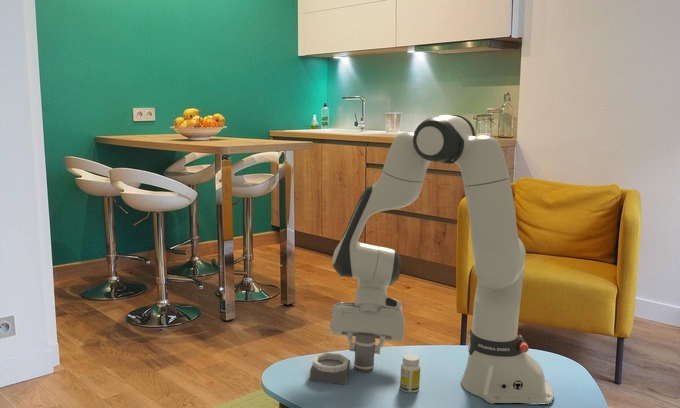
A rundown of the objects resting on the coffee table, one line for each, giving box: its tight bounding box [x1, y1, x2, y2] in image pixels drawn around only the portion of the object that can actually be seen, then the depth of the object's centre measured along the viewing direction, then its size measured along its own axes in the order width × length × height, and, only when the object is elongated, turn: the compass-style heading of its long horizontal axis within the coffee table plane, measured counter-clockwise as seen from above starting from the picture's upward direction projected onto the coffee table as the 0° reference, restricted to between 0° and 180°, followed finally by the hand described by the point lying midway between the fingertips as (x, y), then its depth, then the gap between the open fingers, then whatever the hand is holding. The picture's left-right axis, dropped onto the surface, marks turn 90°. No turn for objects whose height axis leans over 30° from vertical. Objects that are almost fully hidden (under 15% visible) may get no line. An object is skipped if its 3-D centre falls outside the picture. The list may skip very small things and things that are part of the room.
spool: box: [353, 333, 376, 373], centre depth 167 cm, size 5×5×9 cm
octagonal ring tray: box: [309, 352, 351, 385], centre depth 162 cm, size 9×9×4 cm
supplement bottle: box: [399, 353, 421, 394], centre depth 156 cm, size 5×5×8 cm
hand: (364, 351), depth 166 cm, fingers closed on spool, 5 cm apart
